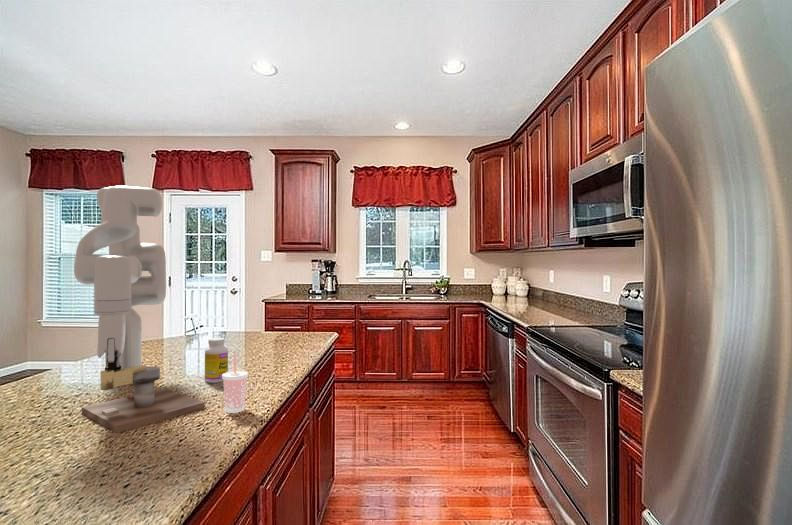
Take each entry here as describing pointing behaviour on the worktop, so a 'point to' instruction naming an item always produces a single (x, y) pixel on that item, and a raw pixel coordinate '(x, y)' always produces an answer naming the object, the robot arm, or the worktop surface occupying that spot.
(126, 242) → the robot arm
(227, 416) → the worktop surface
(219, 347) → the supplement bottle
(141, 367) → the brass lever handle
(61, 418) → the worktop surface
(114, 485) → the worktop surface
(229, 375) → the beverage cup
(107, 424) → the post base
